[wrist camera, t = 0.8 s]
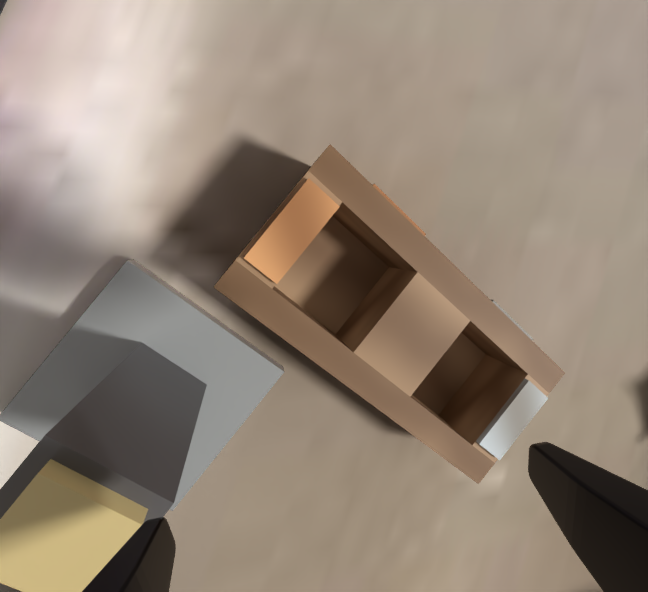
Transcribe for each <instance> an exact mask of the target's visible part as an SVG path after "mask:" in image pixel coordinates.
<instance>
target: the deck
mask: <svg viewBox="0 0 648 592" xmlns="http://www.w3.org/2000/svg"><path fill="white" fill-rule="evenodd" d="M141 343H144V344H145V345H147V346H148V347H150V348H151V349H153V350H155V351H156V352H158V353H159V354H161V355H162V356H164V357H165V358H167V359H168V360H170V361H171V362H173V363H175V364H176V365H178V366H179V367H181V368H182V369H184V370H185V371H187V372H188V373H190V374H191V375H193V376H194V377H196V378H198V379H199V380H201V381H202V382H204V383H205V384H207V386H206V389H205V393H204V397H203V400H202V404H201V408H200V411H199V415H198V418H197V422H196V426H195V429H194V433H193V436H192V440H191V444H190V447H189V451H188V454H187V458H186V462H185V465H184V469H183V472H182V476H181V480H180V483H179V487H178V491H177V494H176V498H175V501H174V504H173V505H172V506H171V508H170V510H172V511H173V510H174V508H175V507H176V506H177V505H178V503H179V502H180V501H181V500H182V498H183V497H184V496H185V495H186V493H187V492H188V491H189V490H190V489H191V487H192V486H193V485H194V484H195V482H196V481H197V480H198V479H199V477H200V476H201V475H202V474H203V472H204V471H205V470H206V469H207V467H208V466H209V465H210V464H211V462H212V461H213V460H214V459H215V457H216V456H217V455H218V454H219V452H220V451H221V450H222V449H223V447H224V446H225V445H226V444H227V442H228V441H229V440H230V439H231V437H232V436H233V435H234V434H235V433H236V431H237V430H238V429H239V428H240V426H241V425H242V424H243V423H244V421H245V420H246V419H247V418H248V416H249V415H250V414H251V413H252V411H253V410H254V409H255V408H256V406H257V405H258V404H259V403H260V401H261V400H262V399H263V398H264V396H265V395H266V394H267V393H268V391H269V390H270V389H271V388H272V386H273V385H274V384H275V383H276V382H277V380H278V379H279V378H280V377H281V375H282V374H283V373H284V370H283V366H282V365H280V364H279V363H278V362H276V361H275V360H273V359H272V358H271V357H269V356H268V355H266V354H265V353H264V352H262V351H261V350H259V349H258V348H257V347H255V346H254V345H252V344H251V343H250V342H248V341H247V340H245V339H244V338H243V337H241V336H240V335H238V334H237V333H236V332H234V331H233V330H231V329H230V328H229V327H227V326H226V325H225V324H223V323H222V322H220V321H219V320H218V319H216V318H215V317H213V316H212V315H211V314H209V313H208V312H206V311H205V310H204V309H202V308H201V307H199V306H198V305H197V304H195V303H194V302H192V301H191V300H190V299H188V298H187V297H185V296H184V295H183V294H181V293H180V292H178V291H177V290H176V289H174V288H173V287H171V286H170V285H169V284H167V283H166V282H164V281H163V280H162V279H160V278H159V277H157V276H156V275H155V274H153V273H152V272H150V271H149V270H148V269H146V268H145V267H144V266H142V265H141V264H139V263H138V262H137V261H135V260H134V259H133V260H127V261H126V262H125V264H124V265H123V266H122V267H121V268H120V270H119V271H118V272H117V273H116V275H115V276H114V277H113V278H112V279H111V281H110V282H109V283H108V284H107V285H106V287H105V288H104V289H103V290H102V292H101V293H100V294H99V295H98V296H97V298H96V299H95V300H94V301H93V302H92V304H91V305H90V306H89V307H88V309H87V310H86V311H85V312H84V313H83V315H82V316H81V317H80V318H79V319H78V321H77V322H76V323H75V324H74V326H73V327H72V328H71V329H70V330H69V332H68V333H67V334H66V335H65V336H64V338H63V339H62V340H61V341H60V342H59V344H58V345H57V346H56V347H55V349H54V350H53V351H52V352H51V353H50V355H49V356H48V357H47V358H46V359H45V361H44V362H43V363H42V364H41V366H40V367H39V368H38V369H37V370H36V372H35V373H34V374H33V375H32V376H31V378H30V379H29V380H28V381H27V383H26V384H25V385H24V386H23V387H22V389H21V390H20V391H19V392H18V393H17V395H16V396H15V397H14V398H13V400H12V401H11V402H10V403H9V404H8V406H7V407H6V408H5V409H4V410H3V412H2V413H1V414H0V421H1V422H3V423H5V424H7V425H9V426H11V427H13V428H15V429H17V430H19V431H21V432H23V433H24V434H26V435H28V436H30V437H32V438H34V439H36V440H38V441H41V439H42V438H43V437H44V436H45V435H46V434H47V433H48V432H49V431H50V430H51V429H52V428H53V427H54V426H55V425H56V424H57V423H58V422H59V421H60V420H61V419H62V418H63V417H64V416H65V415H67V414H68V413H69V412H70V411H71V410H72V409H73V408H74V407H75V406H76V405H77V404H78V403H79V402H80V401H81V400H82V399H83V398H84V397H85V396H86V395H88V394H89V393H90V392H91V391H92V390H93V389H94V388H95V387H96V386H97V385H98V384H99V383H100V382H101V381H102V380H103V379H104V378H105V377H106V376H107V375H108V374H110V373H111V372H112V371H113V370H114V369H115V368H116V367H117V366H118V365H119V364H120V363H121V362H122V361H123V360H124V359H125V358H126V357H127V356H128V355H129V354H130V353H132V352H133V351H134V350H135V349H136V348H137V347H138V346H139V345H140V344H141Z"/></svg>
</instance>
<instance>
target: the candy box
mask: <svg viewBox="0 0 648 592" xmlns="http://www.w3.org/2000/svg"><path fill="white" fill-rule="evenodd" d="M6 2H7V0H0V14H1V13H2V10H3V7H4V6H5V4H6Z"/></svg>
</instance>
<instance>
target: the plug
mask: <svg viewBox="0 0 648 592" xmlns="http://www.w3.org/2000/svg"><path fill="white" fill-rule="evenodd" d="M206 386H207V384H205V383H204V382H202V381H201V380H199V379H198V378H196V377H194V376H193V375H191V374H190V373H188V372H187V371H185V370H184V369H182V368H181V367H179V366H178V365H176V364H175V363H173V362H171V361H170V360H168V359H167V358H165V357H164V356H162V355H161V354H159V353H158V352H156V351H155V350H153V349H151V348H150V347H148V346H147V345H145V344H144V343H141V344H140V345H139V346H138V347H137V348H136V349H135V350H134V351H133V352H132V353H130V354H129V355H128V356H127V357H126V358H125V359H124V360H123V361H122V362H121V363H120V364H119V365H118V366H117V367H116V368H115V369H114V370H113V371H112V372H111V373H110V374H108V375H107V376H106V377H105V378H104V379H103V380H102V381H101V382H100V383H99V384H98V385H97V386H96V387H95V388H94V389H93V390H92V391H91V392H90V393H89V394H88V395H86V396H85V397H84V398H83V399H82V400H81V401H80V402H79V403H78V404H77V405H76V406H75V407H74V408H73V409H72V410H71V411H70V412H69V413H68V414H67V415H65V416H64V417H63V418H62V419H61V420H60V421H59V422H58V423H57V424H56V425H55V426H54V427H53V428H52V429H51V430H50V431H49V432H48V433H47V434H46V435H45V436H44V437H43V438H42V439H41V441H40V442H39V443H38V444H37V445H36V447H35V448H34V449H33V450H32V452H31V453H30V454H29V455H28V456H27V458H26V459H25V460H24V461H23V463H22V464H21V465H20V466H19V467H18V469H17V470H16V471H15V472H14V474H13V475H12V476H11V477H10V478H9V480H8V481H7V482H6V483H5V485H4V486H3V487H2V488H1V489H0V583H2V584H4V585H7V586H9V587H12V588H14V589H17V590H19V591H22V592H82V591H83V590H84V589H85V587H86V586H87V585H88V584H89V583H90V582H91V581H92V580H93V579H94V577H95V576H96V575H97V574H98V573H99V572H100V571H101V570H102V569H103V567H104V566H105V565H106V564H107V563H108V562H109V561H110V560H111V559H112V557H113V556H114V555H115V554H116V553H117V552H118V551H119V550H120V549H121V547H122V546H123V545H124V544H125V543H126V542H127V541H128V540H129V539H130V538H131V536H132V535H133V534H134V533H135V532H136V531H137V530H138V529H139V528H140V526H141V525H142V524H143V523H144V522H145V521H147V520H149V519H154V518H160V517H163V516H164V515H165V514H166V513H167V511H168V510H169V509H170V508H171V506H172V505H173V504H174V501H175V498H176V494H177V491H178V487H179V483H180V480H181V476H182V472H183V469H184V465H185V462H186V458H187V454H188V451H189V447H190V444H191V440H192V436H193V433H194V429H195V426H196V422H197V418H198V415H199V411H200V408H201V404H202V400H203V397H204V393H205V389H206Z"/></svg>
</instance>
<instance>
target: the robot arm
mask: <svg viewBox="0 0 648 592" xmlns="http://www.w3.org/2000/svg"><path fill="white" fill-rule="evenodd" d="M528 472H529V476H530V479H531V481H532V483H533V484H534V486H535V488H536V489H537V491H538V492H539V494H540V496H541V497H542V499H543V501H544V502H545V504H546V506H547V507H548V509H549V511H550V512H551V514H552V516H553V517H554V519H555V521H556V522H557V524H558V526H559V527H560V529H561V531H562V532H563V534H564V536H565V537H566V539H567V540H568V542H569V544H570V545H571V547H572V548H573V549H574V551H575V552H576V554H577V555H578V557H579V558H580V559H581V561H582V562H583V564H584V565H585V566H586V568H587V569H588V571H589V572H590V573H591V575H592V576H593V577H594V579H595V580H596V582H597V583H598V584H599V586H600V587H601V589H602V590H603V591H604V592H648V490H646V489H644V488H642V487H640V486H638V485H636V484H634V483H631V482H629V481H627V480H625V479H623V478H621V477H619V476H617V475H615V474H613V473H611V472H609V471H607V470H605V469H603V468H601V467H598V466H596V465H594V464H592V463H590V462H588V461H586V460H584V459H582V458H580V457H578V456H576V455H574V454H572V453H570V452H568V451H565V450H563V449H561V448H559V447H557V446H555V445H553V444H551V443H548V442H542V443H537V444H532V445H531V446H530V448H529V463H528ZM175 549H176V547H175V540H174V538H173V535H172V532H171V530H170V527H169V524H168V522H167V520H166V519H165V518H164V517H160V518H154V519H149V520H147V521H145V522H144V523H143V524H142V525H141V526H140V528H139V529H138V530H137V531H136V532H135V533H134V534H133V535H132V536H131V538H130V539H129V540H128V541H127V542H126V543H125V544H124V545H123V546H122V547H121V549H120V550H119V551H118V552H117V553H116V554H115V555H114V556H113V557H112V559H111V560H110V561H109V562H108V563H107V564H106V565H105V566H104V567H103V569H102V570H101V571H100V572H99V573H98V574H97V575H96V576H95V577H94V579H93V580H92V581H91V582H90V583H89V584H88V585H87V586H86V587H85V589H84V590H83V591H82V592H169V587H170V581H171V575H172V569H173V563H174V557H175Z"/></svg>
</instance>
